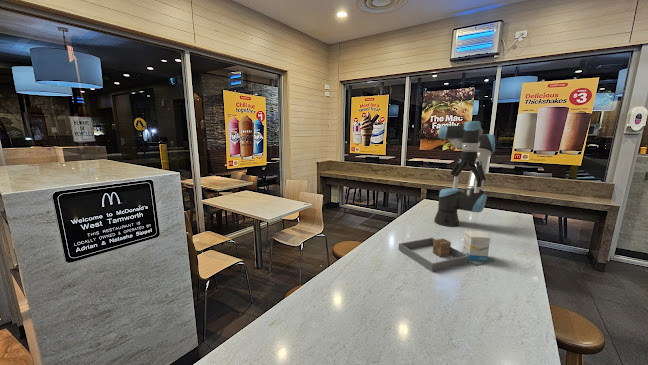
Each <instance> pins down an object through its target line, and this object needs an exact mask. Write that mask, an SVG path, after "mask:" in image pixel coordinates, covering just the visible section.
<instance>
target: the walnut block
mask: <svg viewBox="0 0 648 365" xmlns="http://www.w3.org/2000/svg"><path fill="white" fill-rule="evenodd" d="M451 246H452V242H451V241H449V240H448V239H445V238H439V239H438V238H437V239H436V240H434V243H433V245H432V254H433V255H435V256H436V257H438V258H444V257H447V256H450V247H451Z"/></svg>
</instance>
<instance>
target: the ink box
mask: <svg viewBox="0 0 648 365" xmlns="http://www.w3.org/2000/svg"><path fill="white" fill-rule="evenodd" d="M463 237H464V238H463V247H462V252H463V253H464V254H466V255H468V256H469V260H479V261H487V260H488V257H489V249H490V243H491V242H490V241H491V238H490V236H488V235H487V234H486V233H485V232H484V231H479V230H478V231H477V230H464V236H463Z"/></svg>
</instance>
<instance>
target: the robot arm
mask: <svg viewBox="0 0 648 365" xmlns="http://www.w3.org/2000/svg"><path fill="white" fill-rule="evenodd" d="M438 138H439V139H441V140H442V139H443V140H448V141H449V142H450V143H452V146H453V147H455V148H456V149H459V150H460V151H461V154H460V158H457V159H456V161H455V164H454V165H453V168H452V170H451V172H450V175H452V176H453V178H452V182H453V184H452V187H447V188H442V189H441V190H439V195H438V206H437V207H438V208H437V212H436V214H435V216H434V219H433V220H434V223H435V224H437V225H440V226H444V227H459V225H460V219H459V215H458V210H461V211H466V212H472V213H481V212H483V210H484V209H485V205H486V202H487V199H488V196H487V195H488V194H485V192H486V191H485V190H483V189H484V183H485V181H486V179H487V178H486V171H487V167H488V160H489V157H491V156H492V155H493V153H495V151H496V138H495V135H494V134H492V133H491V134H489V133H486V134H485V133H484V130H483V128H482V126H481V121H479V120H478V121H477V120H473V121H472V120H470V121H469V120H468V121H465V122H464V124H463V125H448V124H447V125H441V126H439V129H438ZM464 169H469V170H470V172H469V178H468V182H467V187H465V188H463V191H460V189H459V181H460V180H459V179H460V176H459V175H460V174H461V172H463V170H464Z"/></svg>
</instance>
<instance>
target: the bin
mask: <svg viewBox="0 0 648 365" xmlns="http://www.w3.org/2000/svg"><path fill="white" fill-rule="evenodd" d="M434 240H437V239H436V238H434V237H428V238H421V239H416V240H412V241H406V242H400V243H398V251H400V252H401V253H402V254H404V255H405V256H407V257H408V258H410V259H412V260H413V261H415V262H416V263H418V264H419V265H421V266H423V267H424V268H425V269H426V270H428V271H430V272H432V273H433V272H437V271H441V270H445V269H450V268H453V267H458V266H461V265H467V264H469V263H470V262H469V256H468V255H466V254H464V253H462V252H463V251H459V250H458V249H455V248H454V247H451V246H450V255H451V256H453V257H454V258H451V259H445V260H441V261H436V262H431V261H430V260H429V259H427V258H424V257H423V256H422V255H420V254H418V253H417V252H415V251H414V250H412V249H414V248H420V247H425V246H426V247H427V246H430V245H432V246H433V243H434ZM450 255H449V256H450Z"/></svg>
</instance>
